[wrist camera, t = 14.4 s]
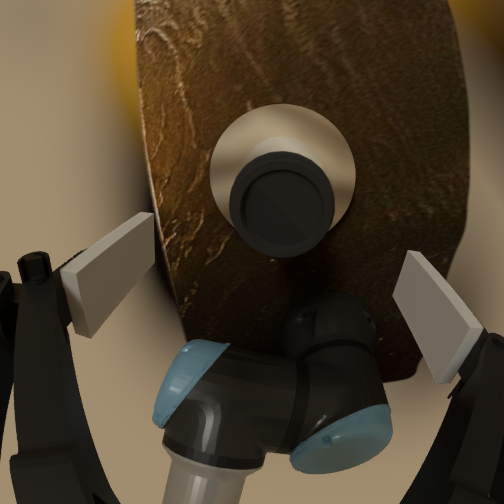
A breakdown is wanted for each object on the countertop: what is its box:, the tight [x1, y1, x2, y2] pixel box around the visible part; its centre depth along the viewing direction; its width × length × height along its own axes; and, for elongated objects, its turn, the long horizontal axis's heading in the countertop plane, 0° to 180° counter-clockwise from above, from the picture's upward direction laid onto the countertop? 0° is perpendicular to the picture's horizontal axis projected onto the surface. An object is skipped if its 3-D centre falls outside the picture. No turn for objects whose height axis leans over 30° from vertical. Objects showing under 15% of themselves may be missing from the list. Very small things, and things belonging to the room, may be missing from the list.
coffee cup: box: [229, 151, 335, 258], centre depth 28 cm, size 8×8×15 cm
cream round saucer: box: [210, 104, 355, 231], centre depth 35 cm, size 18×18×2 cm
